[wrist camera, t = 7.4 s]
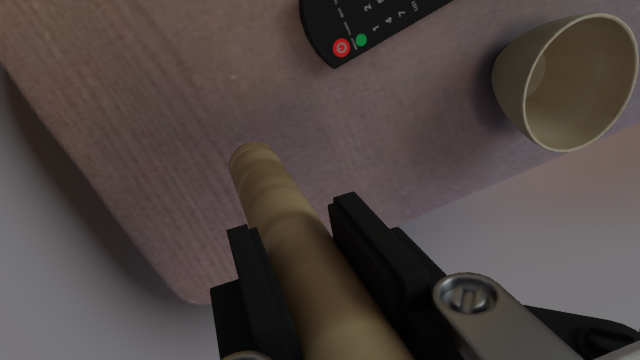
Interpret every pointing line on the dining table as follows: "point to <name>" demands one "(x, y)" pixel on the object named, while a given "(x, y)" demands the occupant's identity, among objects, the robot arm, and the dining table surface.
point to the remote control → (358, 24)
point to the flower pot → (567, 79)
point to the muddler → (311, 266)
